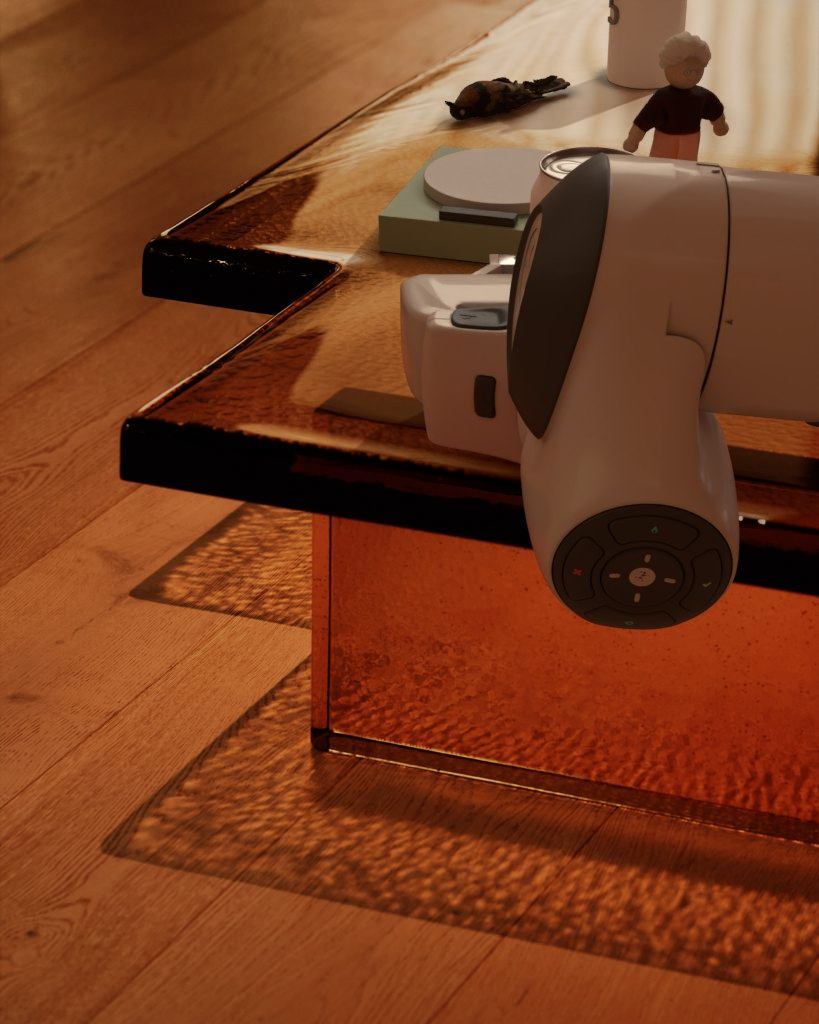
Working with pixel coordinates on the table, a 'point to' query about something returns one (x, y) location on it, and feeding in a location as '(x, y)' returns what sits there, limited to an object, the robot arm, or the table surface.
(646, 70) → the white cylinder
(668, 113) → the grandmother figurine
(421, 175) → the scale
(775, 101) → the table surface
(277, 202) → the table surface
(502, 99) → the bird model
